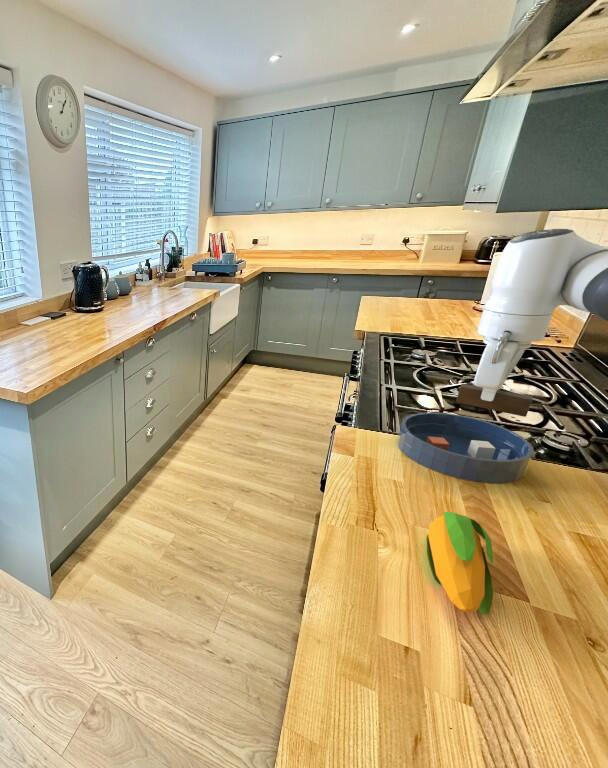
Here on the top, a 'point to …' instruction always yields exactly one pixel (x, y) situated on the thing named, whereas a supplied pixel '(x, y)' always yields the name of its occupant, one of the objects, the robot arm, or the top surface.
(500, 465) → the bowl
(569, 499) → the top surface
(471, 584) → the corn
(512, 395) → the brown bar
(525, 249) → the robot arm
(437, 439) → the terracotta block
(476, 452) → the cream block
